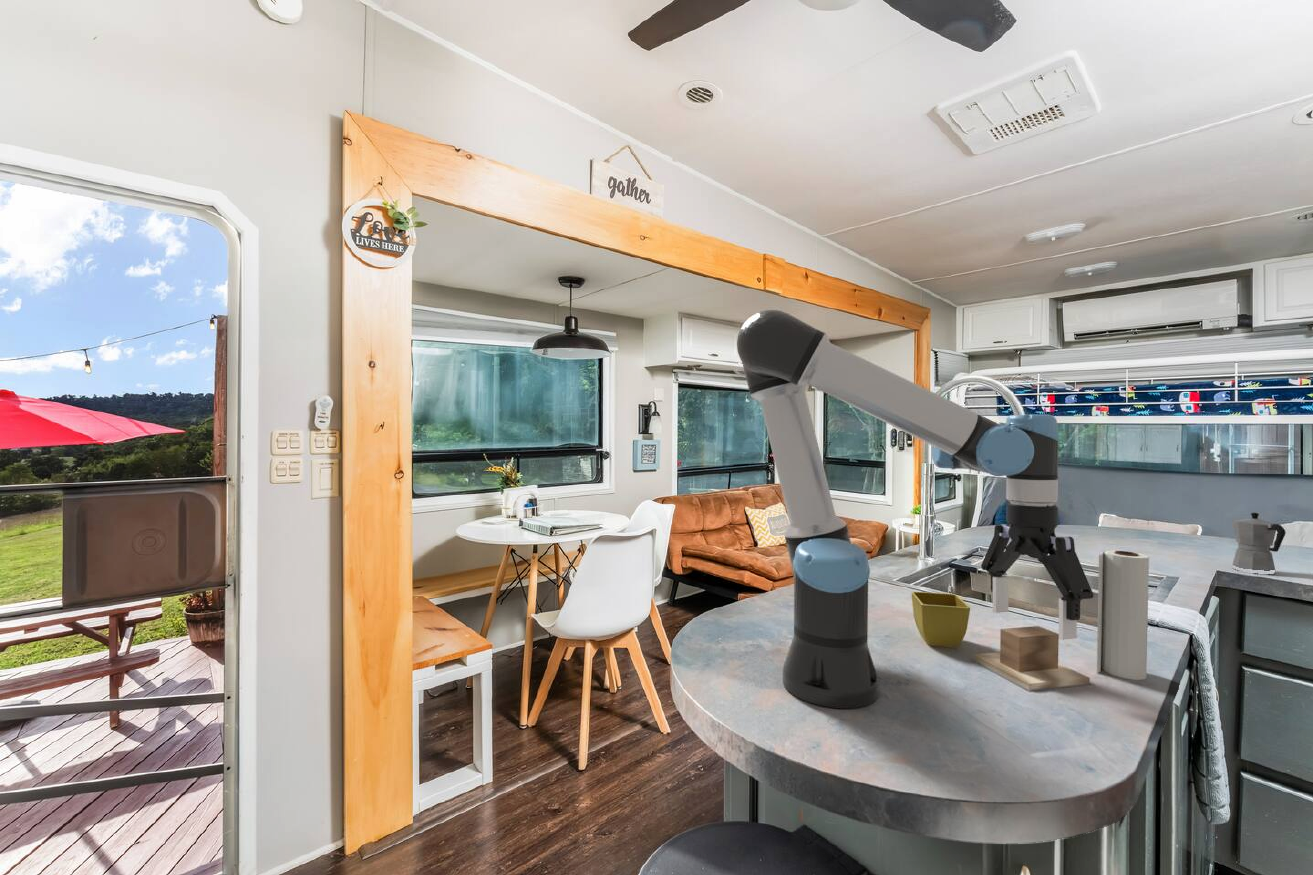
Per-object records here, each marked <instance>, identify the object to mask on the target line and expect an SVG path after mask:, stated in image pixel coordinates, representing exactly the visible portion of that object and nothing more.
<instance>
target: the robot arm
mask: <svg viewBox="0 0 1313 875" xmlns="http://www.w3.org/2000/svg"><path fill="white" fill-rule="evenodd" d="M736 346H737V347H736V349H737V350H736V351H737V354H738V357H739V359H740V361H741V364H742V367H743V371H744V374H745V375H744V376H745V379H746V383H747V387H748V391H749V395H750V397H751V398H753V399H754V400H756V401H757V402H759V404H760V406H761V407H760V408H761V411H762V414H763V419H764V423H765V427H766V432H767V435H768V440H769V444H770V449H771V452H772V456H773V460H774V461H773V462H774V464H775V468H776V473H777V478H778V480H779V485H780V488H781V493H782V498H783V500H784V501H783V502H784V506H785V509H786V514H787V519H788V521H789V525H788V527H787V528H786V530H785V532H784V539H785V543H786V547H787V552H788V556H789V561H790V564H791V565H790V566H791V569H792V574H793V576H792V577H793V589H794V590H793V594H794V596H793V597H794V598H793V600H794V601H793V602H794V603H793V638H792V641H791V643H790V646H789V649H788V651H787V655H786V656H785V657H786V658H785V661H784V664H783V665H782V685H783V687H784V688H785V690H787V691H788V692H789V693H790V694H792V695H793V696H795V697H796V698H799V699H801V700H802V701H806V702H808V703H811V704H814V705H817V706H822V707H827V708H835V709H856V708H862V707H866V706H869V705H871V704H873V703H874V702H875V701H876V700H878V698H879V692H880V691H879V684H880V683H879V682H880V681H879V676H878V674H877V670H876V668H875V665H874V661H873V658H872V655H871V651H870V648H869V644H868V643H869V642H868V641H869V640H868V639H869V638H868V636H869V635H868V634H869V633H868V631H869V629H868V628H869V627H868V626H869V625H868V624H869V620H868V619H869V616H868V615H869V578H870V572H871V570H870V569H871V568H870V564H869V557H868V555H867V552H866V551H865V549H863V547H861V546H859V545H858V544H856V543H852V541H851V538H850V533H849V530H848V526H847V522H846V521H845V520H843V518H841V517H839V516H837V515H836V512H835V508H834V504H833V500H832V496H831V492H830V491H831V490H830V488H829V483H828V479H827V475H826V471H825V466H824V463H823V459H822V456H821V450H820V448H819V443H818V440H817V439H818V438H817V435H816V431H815V427H814V422H813V419H812V415H811V410H810V406H809V402H808V399H807V395H806V390H807V388H808V387H809V386H811V387H813V388H815V389H817V390H818V391H820V392H822V393H825V394H827V395H829V396H831V397H832V398H835V399H837V400H839V401H842V403H843V402H844V403H845V404H847V405H849V406H852V407H853V408H855V409H857V410H859V411H861V412H863V413H866V414H867V415H869V416H872V417H874V418H876V419H878V420H880V421H882V422H883V423H885V424H888V425H890V426H891V427H894V428H895V429H898V430H900V431H902V432H903V433H906V434H908V435H910V436H911V437H914V438H915V439H918V440H920V441H922V442H924V443H926V444H928V445H930V446H931V449H930V450H931V451H930V452H931V458H932V461H933V464H934V465H935V466H936V467H937V468H939V469H951V470H963V469H964V470H971V471H976V472H980V473H985V474H989V475H992V476H994V477H1006V484H1005V485H1006V486H1005V496H1006V497H1005V499H1007V501H1009V502H1007V504H1005V506H1006V509H1005V510H1006V512H1005V514H1006V517H1005V518H1006V523H1005V524H995V526H994V532H993V533H994V534H993V537H992V540H991V542H990V544H989V546H988V549H987V551H986V553H985V556H984V558H983V560H982V563H981V565H980V566H981V570H983V571H986V572H988V575H989V576H990V592H991V593H992V612H993V613H994V614H999V613H1001V614H1002V613H1009V577H1008V576H1006V575H1008V574H1007V572H1008V571H1009V569H1010V568H1011V567H1012V566H1013V565H1014V563H1015V562H1016V561H1017V560H1018V559H1019V558H1020V557H1021V556H1028V557H1029V558H1032V559H1037V561H1038V562H1039V563H1040V564H1042V565H1043V566H1044V568H1045V570H1046V571H1047V573H1048V575H1049V576H1050V578H1051V579H1052V581H1053V582H1054V584H1055V586H1056V587H1057V588H1058V590H1059V592H1060V594H1061V595H1062V597H1059V598H1058V634H1059V640H1063V641H1065V640H1074V639H1077V636H1078V635H1077V633H1078V630H1077V629H1078V628H1077V626H1078V622H1077V621H1079V620H1081V601H1082V600H1089V599H1090V600H1091V599H1092V598H1094V596H1095V595H1094V592H1093V590H1092V588H1091V586H1090V583H1089V581H1088V578H1087V575H1086V574H1085V571H1084V568H1083V566H1082V565H1081V562H1080V559H1079V557H1078V555H1077V552H1076V546H1075V539H1074V538H1073V536H1057V535H1056V533H1055V530H1056V528H1057V527H1058V525H1059V507H1058V506H1057V505H1056V503H1057V502H1058V501H1059V500H1058V499H1059V475H1058V473H1059V472H1058V470H1059V468H1058V467H1059V443H1060V439H1059V427H1058V420H1057V419H1056V418H1057V417H1055V416H1054V415H1051V414H1045V413H1044V414H1012V415H1008V416H1007V417H1006V420H1005V424H1000V423H997V422H996V421H993V420H991V419H990V418H987V417H986V416H983V415H980V414H977V413H976V412H975V411H972V410H971V409H969V408H967V407H964V406H962V405H960V404H958V403H956V402H953V401H952V400H949V399H948V398H945V397H944V396H941V395H939V394H937V393H935V392H933V391H931V390H929V389H927V388H925V387H923V386H921V385H919V384H916V383H914V382H913V381H910V380H908V379H906V378H904V377H902V376H900V375H897V374H896V373H894V372H892V371H890V370H888V369H885V368H883V367H881V366H880V365H878V364H875V363H873V362H871V361H869V360H866V359H864V358H863V357H861V356H859V355H856V354H854V353H852V352H850V351H849V350H846V349H844V348H842V347H840V346H838V345H835V344H834V343H832V342H830V339H829V336H828V334H827V333H826V332H824V331H821V330H819V329H818V328H815V327H813V326H812V325H809V324H808V323H806V322H804V321H802V320H801V319H799V318H797V317H795V316H793V315H792V314H790V313H788V312H785V311H781V310H777V309H767V310H762V311H759V312H756V313H755V314H753V315H751V316H749V318H747V320H746V321H744V323H743V324H742V326H741V327H740V329H739V332H738V335H737V339H736ZM1010 540H1011V541H1010ZM1009 541H1010V542H1009Z"/></svg>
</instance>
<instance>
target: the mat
mask: <svg viewBox="0 0 1313 875" xmlns="http://www.w3.org/2000/svg"><path fill="white" fill-rule="evenodd" d="M968 660H970V661H971V662H973V663H975V664H977V665H978V666H980V667H982V668H984V669H985V670H987V671H989V672H992V673H993V674H995V675H996V676H999V677H1000V678H1003V679H1004V680H1006V681H1008V682H1010V683H1012V684H1013V685H1015V686H1017V687H1019V688H1021V689H1023V690H1024V691H1027V692H1028V693H1032V692H1033V693H1034V692H1040V691H1041V692H1043V691H1050V690H1060V689H1061V690H1063V689H1070V688H1071V689H1072V688H1079V687H1080V688H1081V687H1089V686H1096V684H1094V683H1093V682H1090V684H1081V685H1072V686H1062V687H1052V688H1043V689H1033V690H1028V689H1026V688H1024V687H1023V686H1021V685H1019V684H1017V683H1015V682H1013V681H1011V680H1010V679H1008V678H1006V677H1004V676H1002V675H1000V674H998V673H997V672H995V671H993V670H991V669H989V668H987V667H985V666H984V665H982V664H980V663H978V662H976V661H974V660H973V658H969V659H968Z"/></svg>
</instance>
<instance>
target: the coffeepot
mask: <svg viewBox="0 0 1313 875" xmlns="http://www.w3.org/2000/svg"><path fill="white" fill-rule="evenodd" d="M1250 515H1251V518H1242V519H1232V525H1233V532H1234V538H1235V542H1237V543H1238V544H1237V545H1238V548H1236V551H1235V552H1234V557H1233V560H1232V565H1234V566H1236V567H1239V568H1243V569H1252V570H1264V571H1270V570H1275V571H1276V568H1275V562H1274V558H1273V553H1272V552H1275V553H1276V552H1279V549H1280V548H1281V545H1282V542H1283V540H1284V538H1285V536H1286V529H1284V527H1283V526H1282V525H1281V524H1278V523H1273V522H1270V521H1266V520H1262V519H1259V518H1258V517H1259V515H1260V514H1259V513H1257V512H1250ZM1276 532H1277V533H1276ZM1275 536H1276V538H1275ZM1272 546H1273V547H1272ZM1232 565H1231V566H1232Z"/></svg>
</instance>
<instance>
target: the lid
mask: <svg viewBox="0 0 1313 875" xmlns="http://www.w3.org/2000/svg"><path fill="white" fill-rule="evenodd" d="M1059 640H1060V638H1059V633H1057V632H1056V631H1052V630H1050V629H1047V628H1045V627H1042V626H1040V625H1034V626H1025V627H1024V626H1022V627H1009V628H1000V642H999V643H1000V644H999V648H1000V649H999V652H998V651H997V652H996V651H995V652H986V653H985V652H984V653H976V654H972V656H973V657H972V659H973V660H974V661H976V662H978V663H980V664H982V665H984V666H985V667H987V668H989V669H991V670H993V671H995V672H997V673H998V674H1000V675H1002V676H1004V677H1006V678H1008V679H1010V680H1011V681H1013V682H1015V683H1017V684H1019V685H1021V686H1023V687H1024V688H1026V689H1028V690H1033V689H1043V688H1052V687H1062V686H1072V685H1081V684H1090V683H1091V682H1090V681H1091V680H1090V678H1091V677H1090V676H1087V675H1084V674H1082V673H1080V672H1079V671H1076V670H1074V669H1072V668H1069V667H1067V666H1065V665H1063V664H1061V663H1059V642H1060V641H1059Z"/></svg>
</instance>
